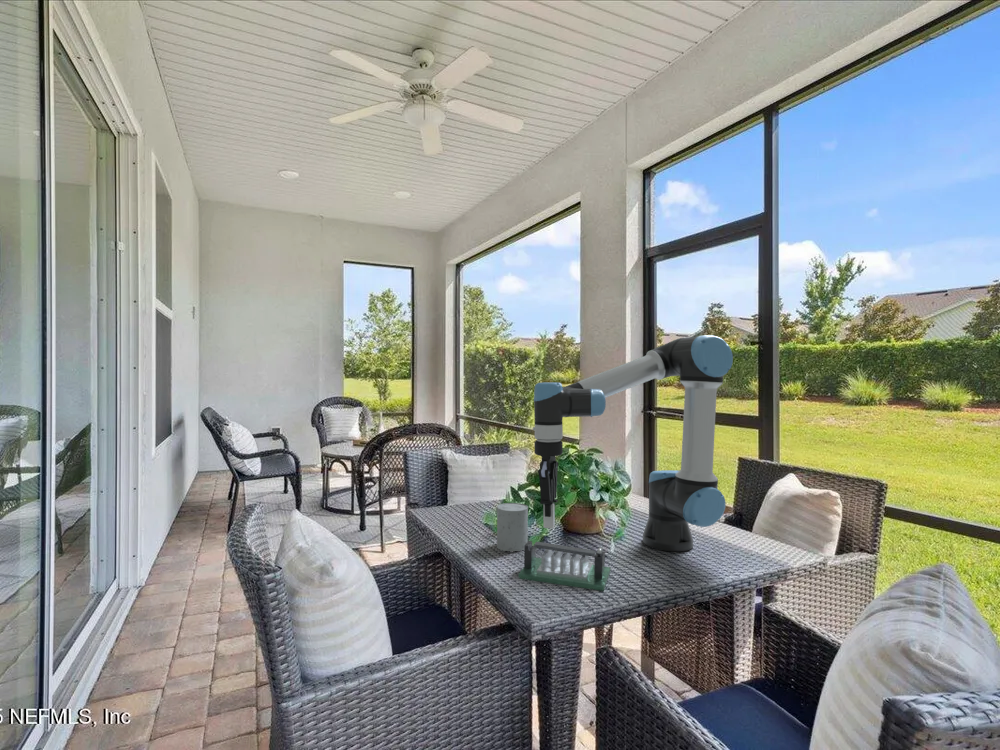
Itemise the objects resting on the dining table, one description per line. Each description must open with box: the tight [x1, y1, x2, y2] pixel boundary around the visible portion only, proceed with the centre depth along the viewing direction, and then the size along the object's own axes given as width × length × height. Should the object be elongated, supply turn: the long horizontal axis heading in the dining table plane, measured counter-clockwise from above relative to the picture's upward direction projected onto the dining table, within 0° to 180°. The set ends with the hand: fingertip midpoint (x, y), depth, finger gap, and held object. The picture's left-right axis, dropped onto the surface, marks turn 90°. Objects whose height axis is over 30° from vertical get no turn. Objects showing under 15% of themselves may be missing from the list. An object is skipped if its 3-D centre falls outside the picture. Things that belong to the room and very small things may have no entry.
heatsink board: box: [518, 540, 611, 592], centre depth 138 cm, size 22×13×7 cm, turn 71°
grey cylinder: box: [496, 502, 529, 553], centre depth 160 cm, size 10×10×12 cm
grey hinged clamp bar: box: [533, 541, 604, 558], centre depth 138 cm, size 18×3×2 cm, turn 71°
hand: (549, 527), depth 140 cm, fingers closed
